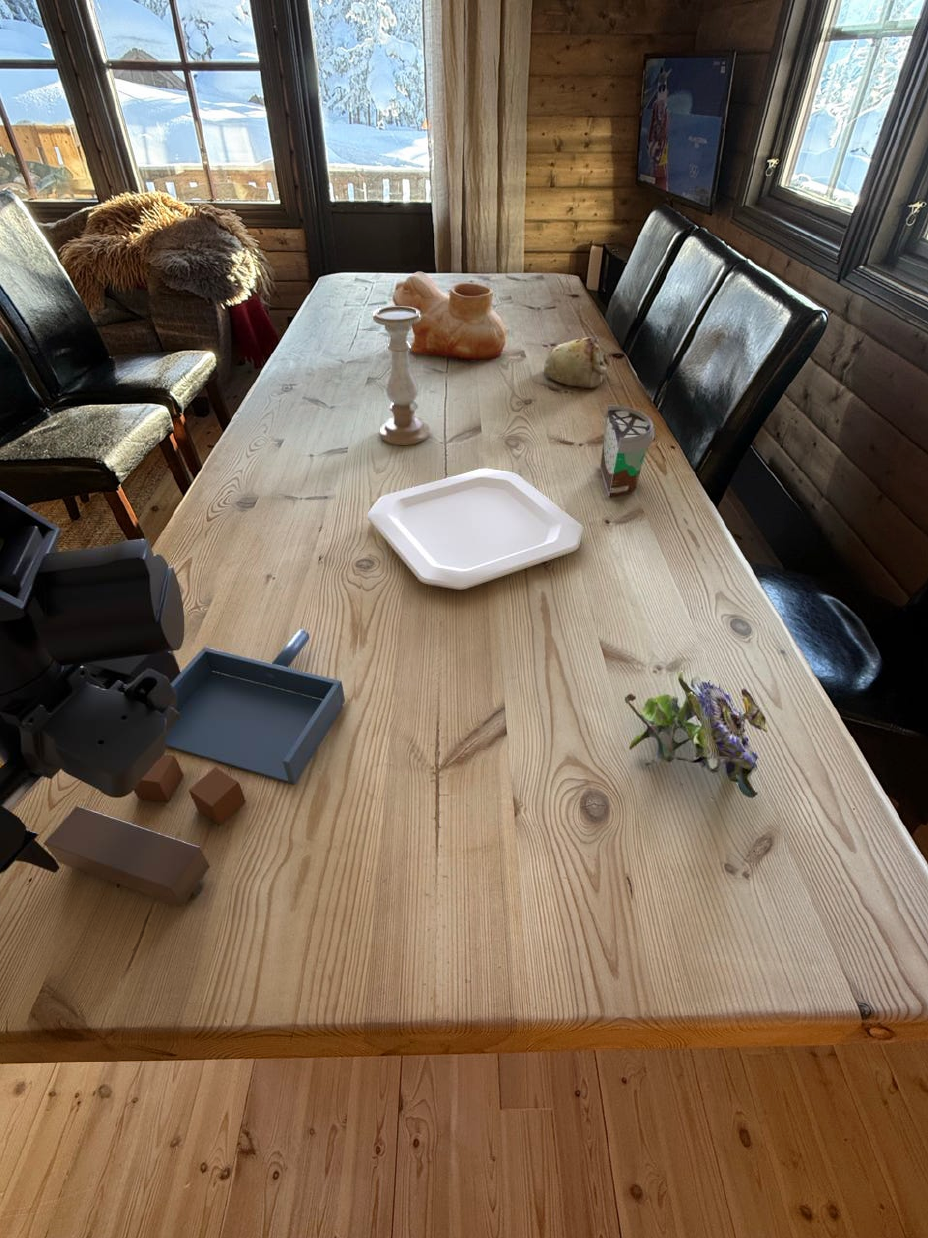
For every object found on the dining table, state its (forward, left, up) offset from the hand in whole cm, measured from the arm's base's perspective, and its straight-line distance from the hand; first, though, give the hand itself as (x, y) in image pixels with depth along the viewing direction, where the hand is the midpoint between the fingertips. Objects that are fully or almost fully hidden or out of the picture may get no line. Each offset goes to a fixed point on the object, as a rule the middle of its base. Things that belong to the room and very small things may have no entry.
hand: (99, 813), depth 49 cm
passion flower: (+42, +26, -9) cm, 50 cm away
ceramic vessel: (-17, +127, -9) cm, 128 cm away
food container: (+29, +78, -9) cm, 83 cm away
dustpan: (0, +20, -8) cm, 22 cm away
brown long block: (0, 0, -8) cm, 8 cm away
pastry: (+13, +119, -9) cm, 120 cm away
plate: (+11, +57, -9) cm, 58 cm away
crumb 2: (+3, +8, -8) cm, 12 cm away
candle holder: (-10, +83, -9) cm, 84 cm away
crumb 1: (-3, +8, -8) cm, 12 cm away
